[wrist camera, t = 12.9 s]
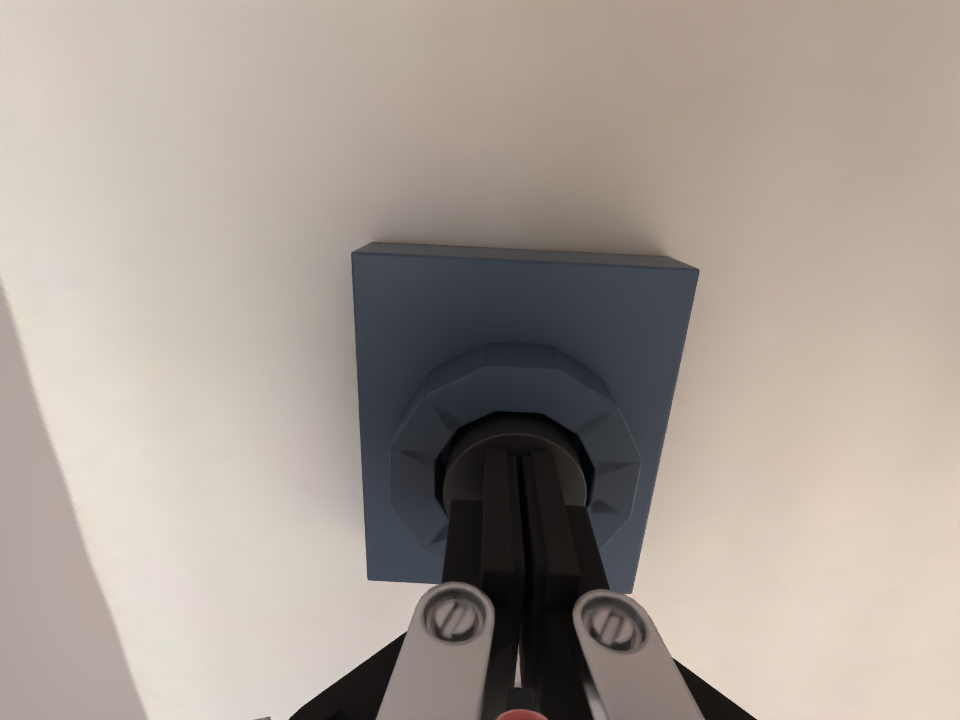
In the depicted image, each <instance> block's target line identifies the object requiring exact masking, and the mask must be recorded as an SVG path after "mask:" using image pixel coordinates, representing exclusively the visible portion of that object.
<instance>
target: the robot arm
mask: <svg viewBox="0 0 960 720" xmlns="http://www.w3.org/2000/svg"><path fill="white" fill-rule="evenodd" d="M518 644H519V656H520V673H521V686H522V689H531V694H532V706H533V709H539V711H540V712H541V713H542V714H543V715H544V716H545V717H546V718H547V719H548V720H757V719H755V718H754V717H753V716H751V715H750V714H749V713H747V712H746V711H744V710H743V709H742V708H740V707H739V706H738V705H736V704H735V703H734V702H732V701H731V700H729V699H728V698H727V697H725V696H724V695H723V694H721V693H720V692H719V691H717V690H716V689H714V688H713V687H712V686H710V685H709V684H708V683H706V682H705V681H704V680H702V679H701V678H699V677H698V676H697V675H695V674H694V673H693V672H691V671H690V670H689V669H687V668H686V667H685V666H683V665H682V664H680V663H679V662H678V661H676V660H675V659H674V658H672V657H671V655H670V653H669V651H668V649H667V647H666V646H665V644H664V642H663V640H662V638H661V636H660V634H659V632H658V631H657V629H656V627H655V625H654V623H653V621H652V619H651V618H650V616H649V615H648V614H647V612H646V611H645V609H644V608H643V607H642V606H641V605H639V604H638V603H637V602H636V601H635V600H634V599H632V598H630V597H628V596H626V595H624V594H623V593H620V592H616V591H613V590H610V587H609V584H608V581H607V577H606V574H605V570H604V567H603V563H602V560H601V557H600V553H599V550H598V546H597V543H596V539H595V536H594V533H593V529H592V526H591V522H590V519H589V515H588V512H587V510H586V507H584V506H575V505H565V503H564V498H563V494H562V490H561V485H560V481H559V476H558V472H557V468H556V463H555V459H554V455H553V452H552V451H541V450H530V453H529V456H525V455H522V457H521V465H520V477H519V488H518V479H517V467H516V456H515V455H507V449H502V448H485V464H484V482H483V499H482V501H479V500H460V499H452V502H451V510H450V518H449V526H448V534H447V542H446V550H445V558H444V567H443V575H442V583H441V584H439V585H437V586H435V587H433V588H431V589H429V590H428V591H427V592H426V593H425V594H424V595H423V596H422V597H421V599H420V600H419V602H418V604H417V606H416V608H415V611H414V614H413V617H412V619H411V622H410V625H409V628H408V631H406V632H405V633H404V634H402V635H401V636H399V637H398V638H397V639H395V640H394V641H393V642H391V643H390V644H388V645H387V646H386V647H384V648H383V649H381V650H380V651H379V652H377V653H376V654H374V655H373V656H372V657H370V658H369V659H368V660H366V661H365V662H363V663H362V664H361V665H359V666H358V667H356V668H355V669H354V670H352V671H351V672H349V673H348V674H347V675H345V676H344V677H343V678H341V679H340V680H338V681H337V682H336V683H334V684H333V685H331V686H330V687H329V688H327V689H326V690H325V691H323V692H322V693H320V694H319V695H318V696H316V697H315V698H313V699H312V700H311V701H309V702H308V703H306V704H305V705H304V706H302V707H301V708H300V709H299V710H298V711H297V712H296V713H295V714H294V715H293V716H292V717H290V719H289V720H496V719H497V718H498V717H499V716H500V715H501V714H502V713H503V712H504V710H505V709H506V701H507V691H508V688H514V682H515V673H516V663H517V654H518ZM255 720H271V718H270V717H265V718H260V719H255Z"/></svg>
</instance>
